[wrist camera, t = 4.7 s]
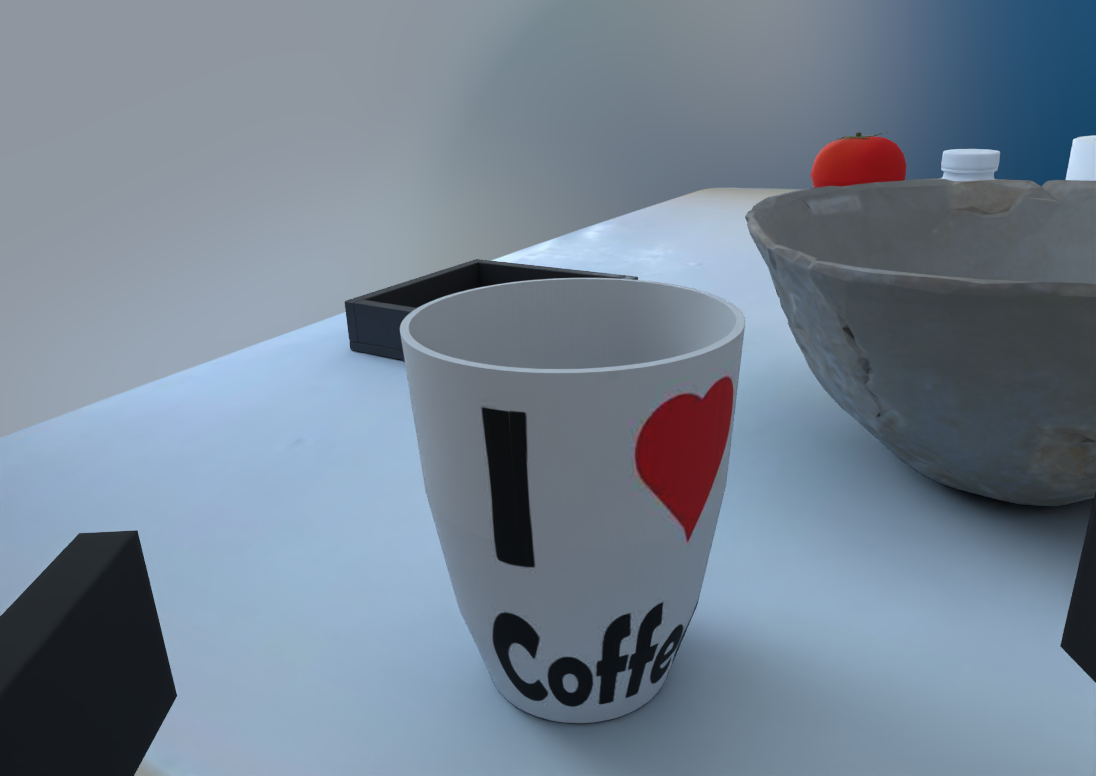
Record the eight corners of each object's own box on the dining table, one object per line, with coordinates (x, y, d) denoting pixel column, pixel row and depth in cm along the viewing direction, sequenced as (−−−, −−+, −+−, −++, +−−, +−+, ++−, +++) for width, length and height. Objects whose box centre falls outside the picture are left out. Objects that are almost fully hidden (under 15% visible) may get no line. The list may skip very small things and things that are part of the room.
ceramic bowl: (624, 466, 34) (625, 227, 31) (876, 339, 49) (896, 167, 46) (1341, 748, 19) (1503, 343, 16) (1393, 442, 34) (1483, 198, 31)
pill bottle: (957, 255, 70) (973, 147, 67) (1007, 267, 65) (1027, 151, 62) (905, 261, 68) (919, 150, 65) (953, 274, 64) (970, 155, 61)
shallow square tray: (350, 350, 50) (343, 301, 49) (478, 300, 61) (476, 259, 60) (526, 385, 44) (524, 329, 43) (638, 322, 54) (638, 276, 53)
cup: (444, 797, 19) (404, 390, 15) (426, 594, 26) (396, 288, 23) (776, 738, 20) (810, 351, 17) (669, 561, 28) (676, 267, 24)
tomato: (919, 210, 92) (929, 131, 89) (852, 219, 87) (860, 137, 84) (854, 200, 100) (861, 128, 97) (790, 209, 95) (795, 133, 92)
